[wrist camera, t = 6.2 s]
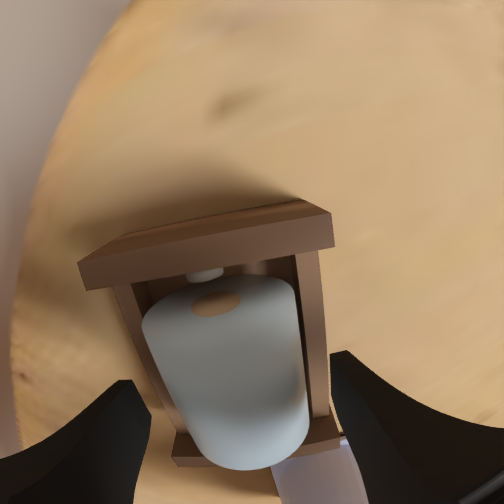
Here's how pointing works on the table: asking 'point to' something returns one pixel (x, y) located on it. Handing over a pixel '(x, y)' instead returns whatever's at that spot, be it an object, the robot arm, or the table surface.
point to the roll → (233, 367)
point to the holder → (219, 265)
